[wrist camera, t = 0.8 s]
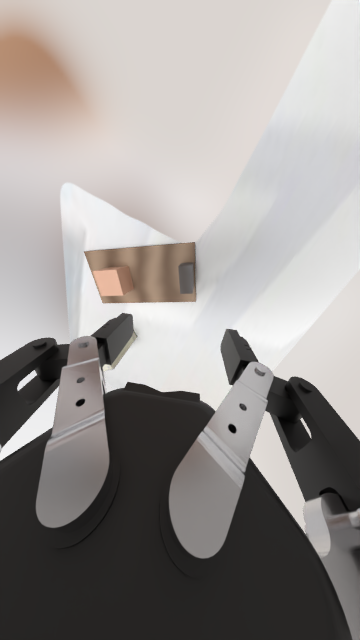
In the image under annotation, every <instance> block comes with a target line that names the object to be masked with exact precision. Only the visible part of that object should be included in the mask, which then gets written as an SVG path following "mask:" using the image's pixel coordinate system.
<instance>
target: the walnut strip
mask: <svg viewBox="0 0 360 640" xmlns="http://www.w3.org/2000/svg"><path fill="white" fill-rule="evenodd" d="M84 253H85V256H86V259H87V261H88V264H89V267H90V269H91V272H92V275H93V278H94V280H95V277H94V274H93V271H95V270H100V269H104V268H109V267H125V266H129V270H130V274H131V279H132V283H133V287H134V289H133V290H131V291H130V292H128V293H126V294H125V295H123V296H101V294H100V291H99V288H98V285H97V283H96V280H95V283H96V286H97V289H98V291H99V294H100V297H101V300H102V302H103V303H143V302H196V287H195V242H192V243H180V244H168V245H157V246H145V247H133V248H121V249H110V250H98V251H86V252H84Z"/></svg>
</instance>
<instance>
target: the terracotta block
mask: <svg viewBox="0 0 360 640" xmlns="http://www.w3.org/2000/svg"><path fill="white" fill-rule="evenodd" d="M93 274H94V277H95V280H96V283H97V285H98V288H99V291H100V294H101V296H123V295H125V294H126V293H128V292H130V291H131V290H133V289H134V287H133V283H132V279H131V274H130V270H129V266H125V267H109V268H104V269H100V270H95V271H93Z"/></svg>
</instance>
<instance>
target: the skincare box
mask: <svg viewBox="0 0 360 640" xmlns="http://www.w3.org/2000/svg"><path fill="white" fill-rule="evenodd" d="M136 338H137V336H136V334H135V333H134V331H133V335H132V337H131V339H130V340H129V341H128V343H127V344H126V345H125V347H124V348H123V350H122V351H121V352H120V354H119V355H118V357H117V358H116V359H115V361H114V362H113V364H112V365H107V364H105V365H104V366H103V371H107V370H113V369H114V368H115V367H116V365H117V364H118V363H119V361H120V360H121V358H122V357H123V356H124V354H125V353H126V351H127V350H128V349H129V347H130V346H131V345H132V343H133V342H134V340H135V339H136Z"/></svg>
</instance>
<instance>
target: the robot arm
mask: <svg viewBox="0 0 360 640" xmlns="http://www.w3.org/2000/svg"><path fill="white" fill-rule="evenodd" d="M132 335H133V317H132V315H131V314H125V313H122V314H121V315H119V316H118V317H117V318H114V319H111V320H109V321H108V322H107V323H106V324H104V325H103V326H102V327H101V328H100V329H98V330H97V331H96V332H95V333H94V334H92V335H91V336H84V337H80V338H77V339H75V340H74V341H72V342H71V343H70V344H62V345H57V342H56V340H55V339H53V338H41V339H38V340H34V341H32V342H30V343H28V344H26V345H25V346H23V347H21V348H20V349H18V350H16V351H15V352H13V353H12V354H10V355H8V356H7V357H5V358H3V359H2V360H0V452H1V448H2V447H3V446H4V445H5V444H6V443H7V442H8V441H9V440H10V439H11V437H12V436H13V435H14V434H15V433H16V432H17V431H18V430H19V429H20V428H21V427H22V425H23V424H24V423H25V422H26V421H27V420H28V419H29V418H30V417H31V415H32V414H33V413H34V412H35V411H36V410H37V409H38V408H39V407H40V406H41V405H42V404H43V402H44V401H45V400H46V399H47V398H48V397H49V396H50V395H51V394H52V393H53V392H54V391H55V389H56V388H57V387H58V386H59V392H58V398H57V404H56V411H55V417H54V425H53V427H52V428H51V429H49V430H48V431H46V432H45V433H43V434H42V435H40V436H39V437H37V438H35V439H34V440H32V441H31V442H30V443H28V444H26V445H25V446H23V447H21V448H20V449H18V450H17V451H15V452H14V453H12V454H10V455H9V456H7V457H6V458H4V459H3V460H1V461H0V640H360V441H359V439H357V437H356V436H355V435H354V433H353V432H352V431H351V430H350V428H349V427H348V426H347V425H346V424H345V422H344V421H343V420H342V419H341V417H340V416H339V415H338V414H337V413H336V411H335V410H334V409H333V408H332V406H331V405H330V404H329V403H328V401H327V400H326V399H325V398H324V397H323V395H322V394H321V393H320V392H319V390H318V389H317V388H316V387H315V386H314V385H312V384H311V383H309V382H308V381H306V380H304V379H302V378H299V377H291V378H290V379H289V381H285V380H283V379H280V378H278V377H275V376H274V375H273V373H272V371H271V370H270V369H269V368H268V367H266V366H265V365H263V364H261V363H259V362H258V360H257V358H256V356H255V355H254V353H253V351H252V349H251V348H250V347H249V344H248V342H247V341H246V340H245V339H244V338H243V337H240V336H239V334H238V332H237V330H232V329H226V331H225V334H224V337H223V340H222V343H221V353H222V357H223V361H224V365H225V369H226V373H227V377H228V381H229V385H233V386H232V388H231V389H230V391H229V393H228V394H227V396H226V397H225V399H224V400H223V402H222V403H221V405H220V406H219V408H218V409H217V411H215V410H214V409H213V408H211V407H210V406H209V405H208V404H206V403H204V402H203V401H200V394H197V393H191V392H185V391H175V392H160V391H158V390H155V389H153V388H151V387H149V386H146V385H143V384H137V383H131V382H127V384H126V386H125V388H120V389H116V390H113V391H110V392H108V393H107V392H106V385H105V379H104V372H103V366H104V365H105V364H107V365H112V364H113V362H114V361H115V359H116V358H117V357H118V355H119V354H120V352H121V351H122V350H123V348H124V347H125V345H126V344H127V343H128V341H129V340H130V339H131V337H132ZM33 370H35V371H36V373H37V376H35V377H34V378H33V379H32V380H31V381H30V382H29V383H27V384H26V385H25V386H24V387H23V388H22V389H20V390H19V391H17V386H18V384H19V382H20V381H21V380H22V379H23V378H25V377H26V376H27V375H28V374H30V373H31V372H32V371H33ZM265 411H267V412H269V413H270V415H271V417H272V419H273V422H274V425H275V427H276V430H277V432H278V434H279V437H280V440H281V442H282V444H283V447H284V449H285V451H286V454H287V457H288V459H289V462H290V464H291V467H292V469H293V472H294V474H295V476H296V479H297V481H298V484H299V487H300V489H301V491H302V494H303V497H304V499H305V502H306V503H305V504H304V508H303V514H304V520H305V523H306V524H305V532H306V534H305V533H304V531H303V530H302V529H301V527H300V526H299V524H298V523H297V522H296V520H295V519H294V518H293V516H292V515H291V513H290V512H289V511H288V509H287V508H286V507H285V505H284V504H283V503H282V501H281V500H280V498H279V497H278V496H277V494H276V493H275V492H274V490H273V489H272V488H271V486H270V485H269V483H268V482H267V480H266V479H265V478H264V477H263V475H262V474H261V472H260V471H259V470H258V468H257V467H256V466H255V464H254V463H253V461H252V460H251V459H250V454H251V451H252V448H253V444H254V442H255V439H256V436H257V433H258V430H259V427H260V424H261V421H262V418H263V415H264V412H265ZM301 418H303V419H304V421H305V423H306V424H307V426H308V428H309V429H310V432H311V438H310V436H309V434H308V433H307V431H306V429H305V427H304V425H303V424H302V422H301V420H300V419H301ZM306 535H307V536H306Z"/></svg>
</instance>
